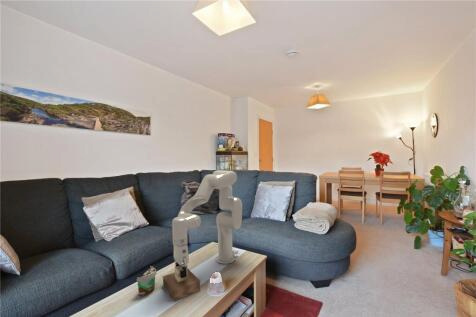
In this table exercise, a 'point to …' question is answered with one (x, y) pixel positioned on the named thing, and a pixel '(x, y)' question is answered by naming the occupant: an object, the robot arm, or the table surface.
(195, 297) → the table surface
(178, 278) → the birch block
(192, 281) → the walnut box
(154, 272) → the food container
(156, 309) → the table surface
